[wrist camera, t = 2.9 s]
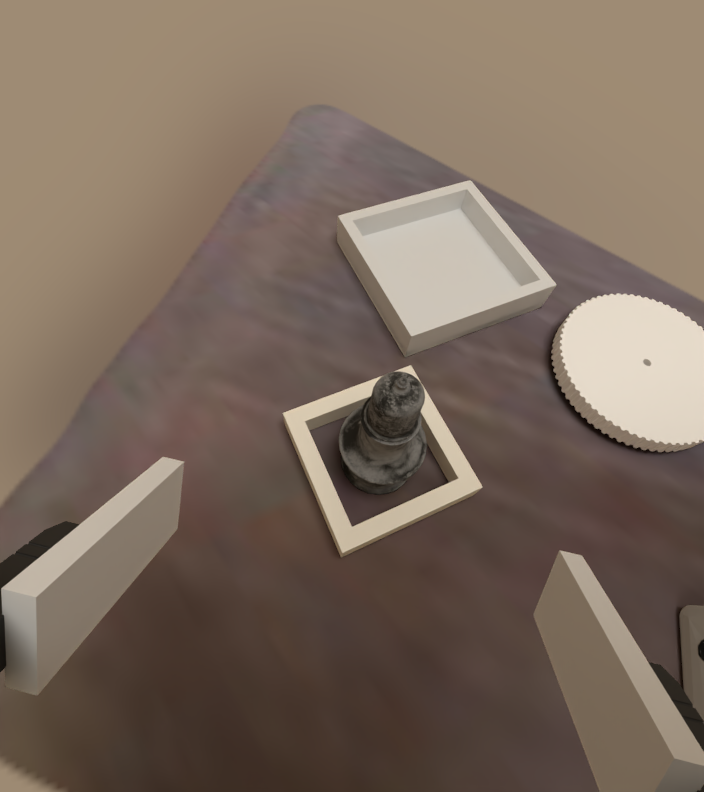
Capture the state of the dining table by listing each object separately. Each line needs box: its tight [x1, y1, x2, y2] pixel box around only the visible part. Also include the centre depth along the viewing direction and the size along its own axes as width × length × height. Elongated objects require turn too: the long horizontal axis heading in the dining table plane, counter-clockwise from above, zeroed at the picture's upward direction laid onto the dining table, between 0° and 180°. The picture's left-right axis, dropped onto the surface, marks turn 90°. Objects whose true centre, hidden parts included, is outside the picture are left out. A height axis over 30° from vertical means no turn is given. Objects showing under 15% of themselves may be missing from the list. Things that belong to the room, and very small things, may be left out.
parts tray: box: [337, 180, 556, 357], centre depth 40 cm, size 14×14×3 cm
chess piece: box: [339, 371, 427, 495], centre depth 28 cm, size 6×6×12 cm
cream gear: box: [551, 294, 704, 452], centre depth 37 cm, size 14×14×2 cm
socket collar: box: [283, 365, 482, 557], centre depth 32 cm, size 10×10×2 cm
